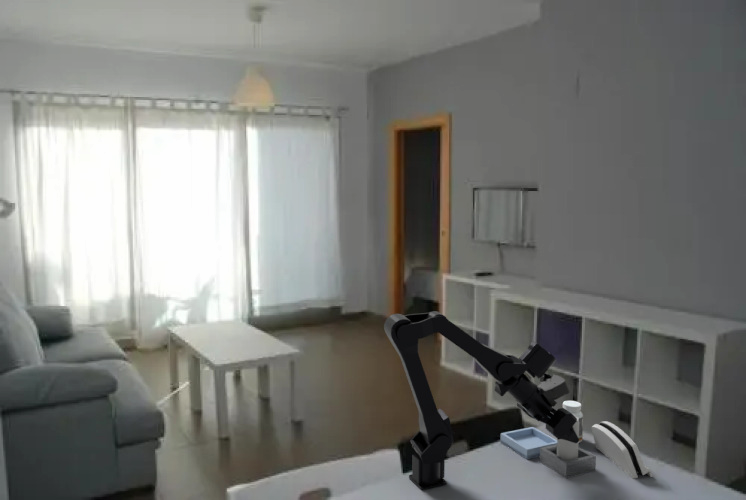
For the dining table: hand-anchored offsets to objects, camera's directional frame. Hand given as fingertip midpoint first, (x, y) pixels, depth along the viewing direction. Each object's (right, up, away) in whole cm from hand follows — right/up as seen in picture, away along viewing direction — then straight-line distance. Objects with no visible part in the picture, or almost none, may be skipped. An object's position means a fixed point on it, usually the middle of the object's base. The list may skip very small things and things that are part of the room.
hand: (566, 433), depth 138 cm
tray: (-6, -7, +11) cm, 15 cm away
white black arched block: (+14, -8, +3) cm, 16 cm away
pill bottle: (+6, -7, +16) cm, 18 cm away
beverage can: (0, -8, +1) cm, 8 cm away
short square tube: (0, -8, +1) cm, 8 cm away
